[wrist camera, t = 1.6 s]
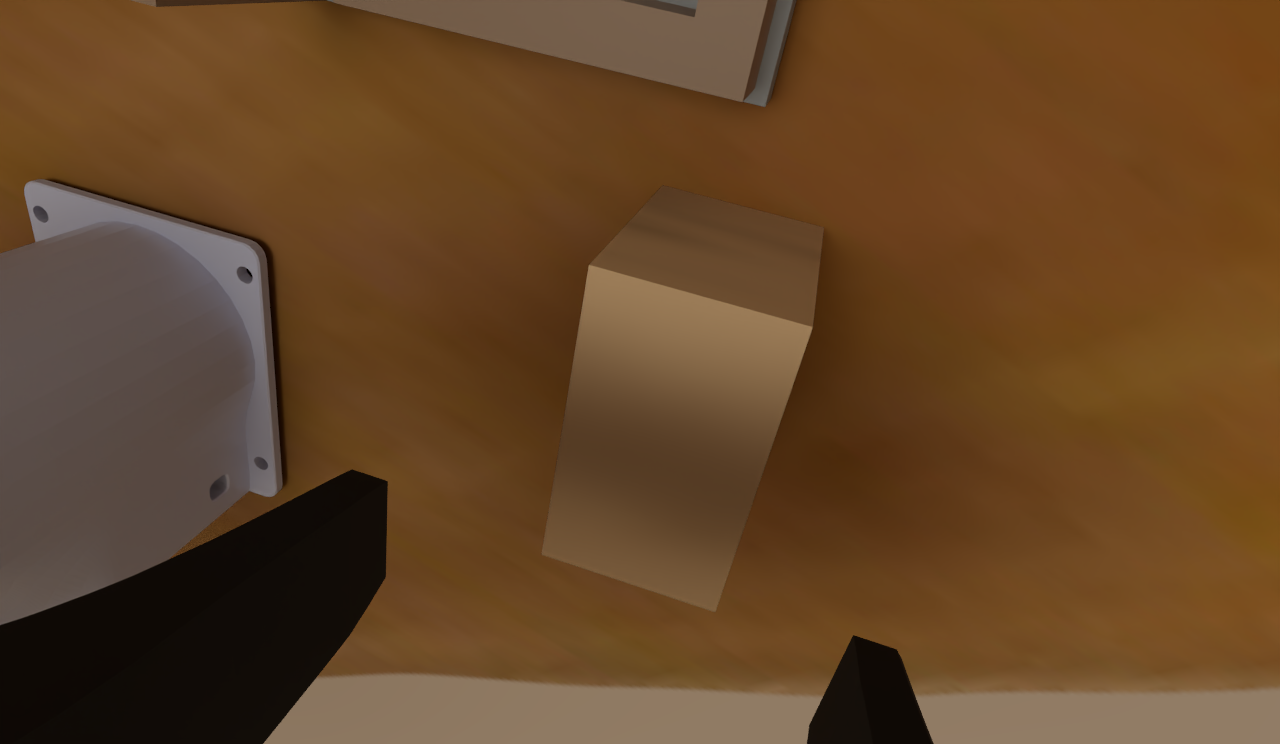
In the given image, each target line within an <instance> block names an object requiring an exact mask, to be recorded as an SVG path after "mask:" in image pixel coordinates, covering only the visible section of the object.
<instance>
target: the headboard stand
mask: <svg viewBox="0 0 1280 744" xmlns="http://www.w3.org/2000/svg"><path fill="white" fill-rule="evenodd" d="M132 1H136V2H140V3H144V4H148V5H152V6H156V7H161V6H189V5H216V4H243V3H270V2H297V1H324V0H132ZM327 1H331V2H333V3H337V4H341V5H345V6H349V7H353V8H357V9H361V10H366V11H370V12H374V13H378V14H382V15H386V16H390V17H394V18H398V19H403V20H407V21H411V22H415V23H419V24H423V25H427V26H431V27H435V28H440V29H444V30H448V31H452V32H456V33H460V34H464V35H468V36H472V37H477V38H481V39H485V40H489V41H493V42H497V43H501V44H505V45H509V46H514V47H518V48H522V49H526V50H530V51H534V52H538V53H542V54H546V55H551V56H555V57H559V58H563V59H567V60H571V61H575V62H579V63H583V64H588V65H592V66H596V67H600V68H604V69H608V70H612V71H616V72H620V73H625V74H629V75H633V76H637V77H641V78H645V79H649V80H653V81H657V82H662V83H666V84H670V85H674V86H678V87H682V88H686V89H690V90H694V91H698V92H703V93H707V94H711V95H715V96H719V97H723V98H727V99H731V100H735V101H740V102H747V103H751V104H755V105H759V106H763V107H765V106H766V105H767V103H768V102H769V101H770V99H771V95H772V91H773V88H774V84H775V80H776V76H777V73H778V69H779V65H780V61H781V57H782V54H783V50H784V46H785V42H786V38H787V35H788V31H789V27H790V23H791V20H792V16H793V12H794V8H795V4H796V1H797V0H327Z"/></svg>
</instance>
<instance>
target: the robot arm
mask: <svg viewBox="0 0 1280 744" xmlns="http://www.w3.org/2000/svg"><path fill="white" fill-rule="evenodd" d="M24 194H25V199H26V203H27V207H28V211H29V216H30V220H31V224H32V228H33V233H34V237H35V241H36V242H35V243H31V244H28V245H25V246H22V247H19V248H16V249H13V250H10V251H6V252H3V253H0V744H263V743H264V742H265V741H266V739H267V738H268V737H269V736H270V734H271V733H272V732H273V731H274V729H275V728H276V727H277V726H278V724H279V723H280V722H281V721H282V719H283V718H284V717H285V716H286V715H287V713H288V712H289V711H290V709H291V708H292V707H293V706H294V705H295V703H296V702H297V701H298V700H299V698H300V697H301V696H302V695H303V693H304V692H305V691H306V690H307V688H308V687H309V686H310V685H311V683H312V682H313V681H314V680H315V678H316V677H317V676H318V675H319V673H320V672H321V671H322V670H323V668H324V667H325V666H326V665H327V663H328V662H329V661H330V660H331V658H332V657H333V656H334V654H335V653H336V652H337V651H338V649H339V648H340V647H341V646H342V644H343V643H344V642H345V640H346V639H347V638H348V637H349V635H350V634H351V632H352V631H353V629H354V628H355V626H356V624H357V623H358V621H359V620H360V618H361V617H362V615H363V613H364V612H365V610H366V609H367V607H368V605H369V604H370V602H371V600H372V599H373V597H374V595H375V594H376V592H377V590H378V589H379V587H380V586H381V584H382V582H383V581H384V579H385V577H386V536H387V486H388V481H385V480H382V479H379V478H376V477H373V476H370V475H367V474H364V473H361V472H358V471H355V470H350V471H348V472H346V473H344V474H341V475H339V476H337V477H335V478H333V479H331V480H330V481H328V482H326V483H324V484H322V485H320V486H318V487H316V488H314V489H312V490H310V491H308V492H306V493H304V494H302V495H300V496H298V497H296V498H294V499H293V500H291V501H289V502H287V503H285V504H283V505H281V506H279V507H277V508H275V509H273V510H271V511H269V512H267V513H265V514H263V515H261V516H259V517H257V518H255V519H253V520H251V521H249V522H247V523H245V524H243V525H241V526H239V527H237V528H235V529H233V530H231V531H229V532H227V533H225V534H223V535H221V536H219V537H217V538H215V539H213V540H211V541H209V542H207V543H204V544H202V545H200V546H198V547H195V548H193V549H191V550H189V551H187V552H184V553H182V554H180V555H178V556H175V557H173V558H171V557H172V556H173V555H174V554H175V553H176V552H178V551H179V550H180V549H181V548H182V547H184V546H185V545H186V544H187V543H188V542H189V541H191V540H192V539H193V538H194V537H195V536H197V535H198V534H199V533H200V532H201V531H203V530H204V529H205V528H206V527H207V526H208V525H210V524H211V523H212V522H213V521H214V520H216V519H217V518H218V517H219V516H220V515H221V514H223V513H224V512H225V511H226V510H227V509H229V508H230V507H231V506H232V505H233V504H234V503H236V502H237V501H238V500H239V499H240V498H242V497H243V496H244V495H245V494H246V493H248V492H249V491H251V492H254V493H257V494H260V495H263V496H267V497H272V496H274V495H276V494H277V493H278V492H279V491H280V490H281V489H282V485H283V483H282V469H281V454H280V440H279V426H278V412H277V398H276V384H275V369H274V355H273V341H272V327H271V313H270V299H269V285H268V270H267V259H266V255H265V252H264V251H263V249H262V247H260V246H259V245H258V244H257V243H256V242H254V241H252V240H250V239H247V238H243V237H240V236H236V235H233V234H230V233H226V232H223V231H219V230H216V229H212V228H209V227H206V226H202V225H199V224H195V223H192V222H188V221H185V220H182V219H178V218H175V217H171V216H168V215H164V214H161V213H158V212H154V211H151V210H147V209H144V208H140V207H137V206H134V205H130V204H127V203H123V202H120V201H117V200H113V199H110V198H106V197H103V196H99V195H96V194H93V193H89V192H86V191H82V190H79V189H75V188H72V187H69V186H65V185H62V184H58V183H55V182H51V181H48V180H45V179H38V180H34V181H30V182H28V183H26V185H25V188H24ZM246 268H247V269H248V270H249V271H250V272H251V274H252V277H253V278H252V277H251V276H250V275H249V274H248V273H247V270H246ZM169 558H171V559H169ZM168 559H169V560H168ZM807 744H933V741H932V739H931V736H930V734H929V731H928V729H927V726H926V724H925V721H924V718H923V716H922V713H921V711H920V708H919V705H918V703H917V700H916V697H915V695H914V692H913V689H912V686H911V684H910V681H909V678H908V675H907V673H906V670H905V667H904V664H903V661H902V659H901V657H900V655H899V653H898V651H897V650H896V649H893V648H890V647H887V646H884V645H881V644H878V643H875V642H872V641H869V640H866V639H863V638H860V637H857V636H854V635H853V637H852V639H851V641H850V643H849V645H848V647H847V649H846V651H845V653H844V655H843V657H842V659H841V661H840V663H839V666H838V668H837V670H836V672H835V674H834V676H833V678H832V680H831V682H830V684H829V686H828V688H827V690H826V692H825V694H824V696H823V698H822V700H821V702H820V705H819V706H818V709H817V711H816V713H815V715H814V717H813V719H812V721H811V723H810V725H809V733H808V740H807Z"/></svg>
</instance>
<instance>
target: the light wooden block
mask: <svg viewBox="0 0 1280 744" xmlns="http://www.w3.org/2000/svg"><path fill="white" fill-rule="evenodd" d="M823 232H824V227H821V226H817V225H813V224H809V223H805V222H802V221H798V220H794V219H790V218H786V217H782V216H779V215H775V214H771V213H767V212H763V211H759V210H756V209H752V208H748V207H744V206H740V205H737V204H733V203H729V202H725V201H721V200H717V199H714V198H710V197H706V196H702V195H698V194H694V193H691V192H687V191H683V190H679V189H675V188H671V187H668V186H664V185H663V186H662V187H661V188H660V189H659V190H658V191H657V192H656V193H655V194H654V195H653V196H652V198H651V199H650V200H649V201H648V202H647V203H646V204H645V205H644V206H643V207H642V208H641V209H640V210H639V212H638V213H637V214H636V215H635V216H634V217H633V218H632V219H631V220H630V221H629V222H628V223H627V224H626V226H625V227H624V228H623V229H622V230H621V231H620V232H619V233H618V234H617V235H616V236H615V237H614V238H613V240H612V241H611V242H610V243H609V244H608V245H607V246H606V247H605V248H604V249H603V250H602V251H601V253H600V254H599V255H598V256H597V257H596V258H595V259H594V260H593V261H592V262H591V263H590V264H589V268H588V274H587V280H586V286H585V293H584V299H583V305H582V311H581V317H580V323H579V329H578V335H577V341H576V347H575V353H574V360H573V366H572V372H571V378H570V384H569V390H568V396H567V402H566V408H565V414H564V420H563V427H562V433H561V439H560V445H559V451H558V457H557V463H556V469H555V475H554V481H553V487H552V494H551V500H550V506H549V512H548V518H547V524H546V530H545V536H544V542H543V548H542V554H541V555H544V556H547V557H550V558H553V559H556V560H559V561H562V562H565V563H568V564H571V565H574V566H577V567H580V568H583V569H586V570H589V571H592V572H595V573H598V574H601V575H604V576H607V577H610V578H613V579H616V580H619V581H622V582H625V583H629V584H632V585H635V586H638V587H641V588H644V589H647V590H650V591H653V592H656V593H659V594H662V595H665V596H668V597H671V598H674V599H677V600H680V601H683V602H686V603H689V604H692V605H695V606H698V607H701V608H704V609H707V610H710V611H713V612H715V611H716V608H717V606H718V603H719V600H720V597H721V594H722V591H723V588H724V585H725V582H726V579H727V576H728V573H729V570H730V568H731V565H732V562H733V559H734V556H735V553H736V550H737V547H738V544H739V541H740V538H741V535H742V533H743V530H744V527H745V524H746V521H747V518H748V515H749V512H750V509H751V506H752V503H753V500H754V497H755V495H756V492H757V489H758V486H759V483H760V480H761V477H762V474H763V471H764V468H765V465H766V462H767V460H768V457H769V454H770V451H771V448H772V445H773V442H774V439H775V436H776V433H777V430H778V427H779V425H780V422H781V419H782V416H783V413H784V410H785V407H786V404H787V401H788V398H789V395H790V392H791V389H792V387H793V384H794V381H795V378H796V375H797V372H798V369H799V366H800V363H801V360H802V357H803V354H804V352H805V349H806V346H807V343H808V340H809V337H810V334H811V331H812V328H813V321H814V312H815V304H816V295H817V286H818V277H819V268H820V259H821V250H822V241H823Z"/></svg>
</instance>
